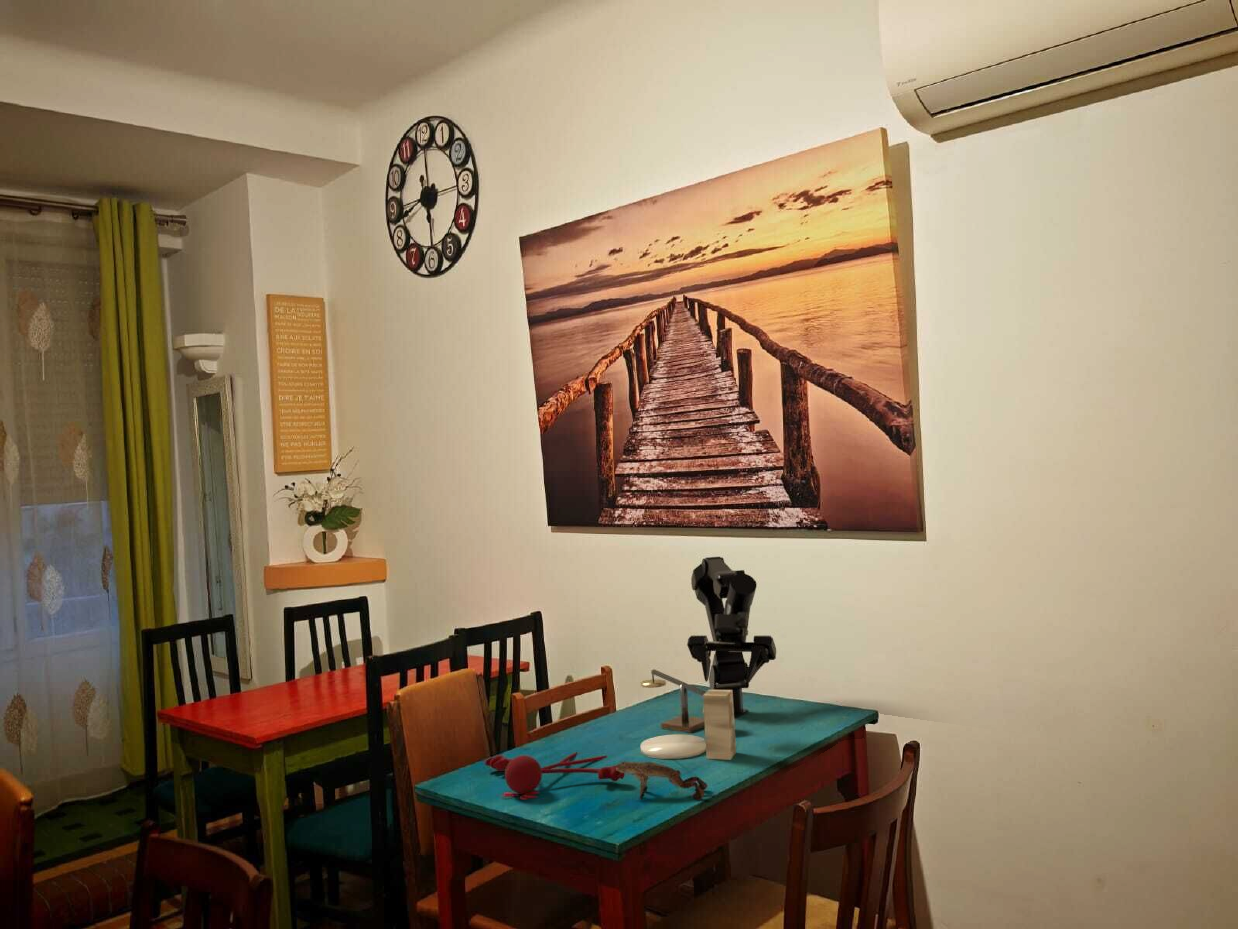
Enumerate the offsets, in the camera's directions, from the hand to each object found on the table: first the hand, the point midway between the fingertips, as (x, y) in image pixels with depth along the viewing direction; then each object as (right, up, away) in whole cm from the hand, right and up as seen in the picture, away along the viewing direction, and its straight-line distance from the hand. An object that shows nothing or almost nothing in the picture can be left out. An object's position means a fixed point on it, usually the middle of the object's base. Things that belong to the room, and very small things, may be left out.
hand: (726, 680), depth 218 cm
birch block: (-2, -14, -7) cm, 16 cm away
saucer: (-11, -14, -1) cm, 18 cm away
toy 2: (-15, -15, -30) cm, 37 cm away
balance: (-8, -14, +17) cm, 23 cm away
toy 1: (-35, -17, -14) cm, 41 cm away
